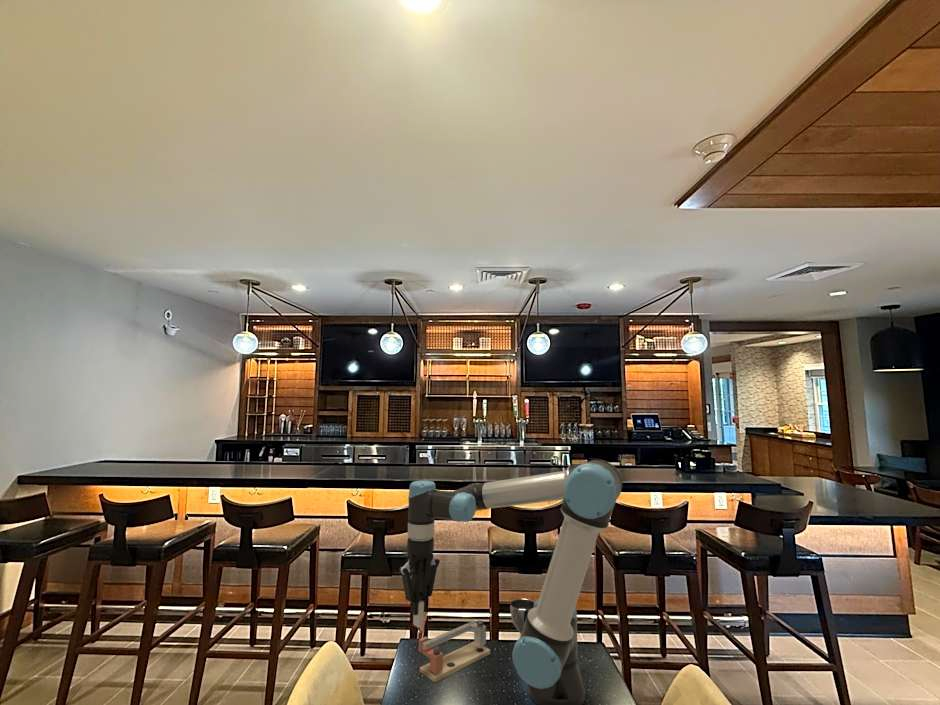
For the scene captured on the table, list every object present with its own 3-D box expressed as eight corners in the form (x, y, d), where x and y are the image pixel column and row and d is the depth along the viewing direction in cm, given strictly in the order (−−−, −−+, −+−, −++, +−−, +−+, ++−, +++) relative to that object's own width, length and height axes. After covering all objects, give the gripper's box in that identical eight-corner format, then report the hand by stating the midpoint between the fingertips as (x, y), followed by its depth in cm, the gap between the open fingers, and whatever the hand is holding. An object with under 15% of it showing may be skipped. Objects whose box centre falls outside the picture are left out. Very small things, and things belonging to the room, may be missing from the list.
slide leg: (442, 671, 129) (443, 646, 129) (435, 674, 127) (436, 650, 128) (425, 659, 134) (426, 636, 135) (418, 662, 133) (419, 639, 133)
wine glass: (535, 649, 144) (535, 599, 145) (537, 663, 136) (536, 610, 138) (510, 647, 144) (510, 598, 146) (510, 661, 137) (510, 608, 138)
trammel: (485, 650, 141) (486, 622, 142) (435, 676, 127) (435, 644, 128) (472, 642, 145) (472, 615, 146) (421, 667, 131) (422, 636, 132)
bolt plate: (490, 653, 141) (490, 649, 141) (435, 682, 126) (435, 678, 126) (474, 645, 146) (474, 641, 146) (419, 671, 131) (419, 667, 131)
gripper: (430, 530, 136) (428, 613, 133) (394, 538, 127) (390, 628, 124) (446, 536, 131) (444, 623, 128) (409, 544, 122) (406, 638, 119)
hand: (418, 625), depth 126 cm, fingers closed
